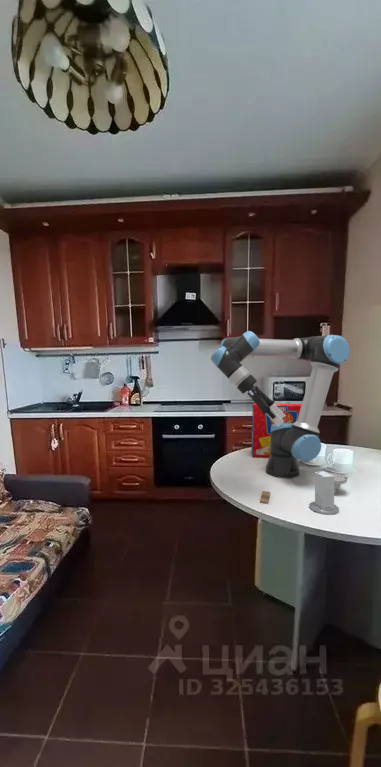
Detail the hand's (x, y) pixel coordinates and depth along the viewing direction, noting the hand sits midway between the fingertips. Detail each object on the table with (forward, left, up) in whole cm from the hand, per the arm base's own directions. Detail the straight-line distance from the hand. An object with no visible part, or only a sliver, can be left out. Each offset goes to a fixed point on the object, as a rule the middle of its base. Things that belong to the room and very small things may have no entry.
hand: (282, 421), depth 139 cm
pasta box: (-57, -4, -30) cm, 65 cm away
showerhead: (-12, +21, -30) cm, 38 cm away
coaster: (+6, +16, -30) cm, 34 cm away
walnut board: (+3, -5, -30) cm, 30 cm away
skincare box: (+6, +16, -29) cm, 34 cm away
